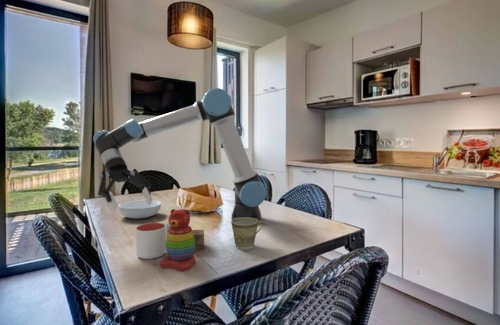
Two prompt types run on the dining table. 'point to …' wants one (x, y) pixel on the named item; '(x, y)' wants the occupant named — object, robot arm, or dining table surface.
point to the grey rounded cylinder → (167, 228)
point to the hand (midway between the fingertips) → (134, 205)
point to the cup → (150, 240)
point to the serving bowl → (139, 209)
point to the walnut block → (199, 240)
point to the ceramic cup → (245, 232)
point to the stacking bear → (179, 242)
